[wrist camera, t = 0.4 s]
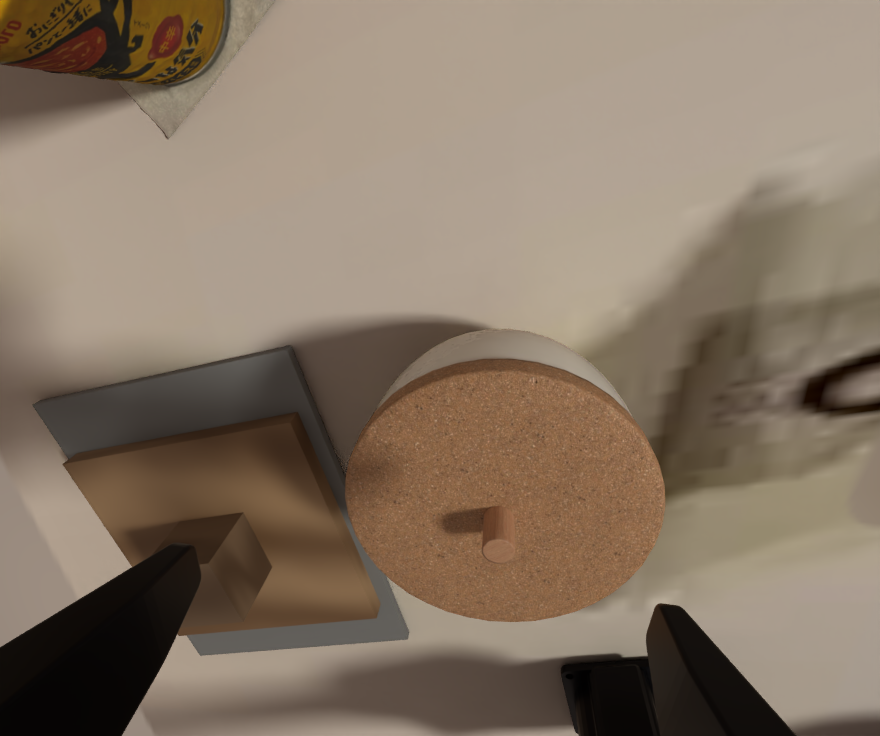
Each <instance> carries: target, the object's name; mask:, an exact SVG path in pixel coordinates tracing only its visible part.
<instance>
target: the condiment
mask: <svg viewBox="0 0 880 736" xmlns="http://www.w3.org/2000/svg"><path fill="white" fill-rule="evenodd" d="M274 1H275V0H0V64H2V65H8V66H16V67H23V68H31V69H39V70H43V71H46V72H51V73H70V74H74V75H80V76H88V77H96V78H99V79H109V80H115V81H117V82H118V83H119V85H120V86H121V87H122V88H123V89H124V90H125V91H126V92H127V93H128V94H129V95H130V96H131V97H132V98H133V99H134V100H135V101H136V102H137V103H138V105H139V106H140V107H141V108H142V109H143V110H144V111H145V112H146V113H147V114H148V115H149V116H150V117H151V118H152V119H153V120H154V121H155V123H156V124H157V125H158V126H159V127H160V128H161V129H162V130H163V132H164V133H165V134H166V136H167V137H168V138H170V137H171V135H172V134H173V133H174V132H175V131H176V129H177V128H178V127H179V125H180V124H181V123H182V121H183V120H184V119H185V118H186V117H187V116H188V114H189V113H190V112H191V110H192V109H193V107H194V106H195V105H196V104H197V103H198V102H199V101H200V99H201V98H202V97H203V96H204V94H205V93H206V92H207V90H208V89H209V88H210V86H211V85H212V84H213V83H214V82H215V80H216V79H217V78H218V76H219V75H220V74H221V73H222V71H223V70H224V68H225V67H226V66H227V64H228V63H229V62H230V60H231V59H232V58H233V57H234V55H235V54H236V52H237V51H238V50H239V49H240V47H241V46H242V45H243V43H244V42H245V41H246V40H247V38H248V37H249V35H250V33H251V32H252V31H253V30H254V28H255V26H256V24H257V23H258V22H259V21H260V19H261V18H262V17H263V16H264V14H265V13H266V12H267V10H268V9H269V8H270V6H271V5H272V4H273V2H274Z"/></svg>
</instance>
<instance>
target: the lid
mask: <svg viewBox="0 0 880 736" xmlns="http://www.w3.org/2000/svg"><path fill="white" fill-rule="evenodd" d="M63 466H64V467H65V468H66V470H67V471H68V473H69V474H70V476H71V477H72V479H73V480H74V482H75V483H76V485H77V486H78V488H79V489H80V491H81V492H82V494H83V495H84V496H85V498H86V499H87V501H88V502H89V504H90V505H91V507H92V508H93V510H94V511H95V513H96V514H97V516H98V517H99V519H100V520H101V521H102V523H103V524H104V526H105V527H106V529H107V530H108V532H109V533H110V535H111V536H112V538H113V539H114V541H115V542H116V544H117V545H118V547H119V548H120V549H121V551H122V552H123V554H124V555H125V557H126V558H127V560H128V561H129V563H130V564H131V566H132V567H133V566H135V565H137V564H138V563H140V562H142V561H143V560H145V559H146V558H148V557H150V556H151V555H153V554H155V553H156V552H158V551H160V550H161V549H163V548H165V547H166V546H168V545H170V544H172V543H184V544H191V545H193V546H194V547H195V548H196V551H197V556H198V560H199V565H200V569H201V582H200V586H199V588H198V590H197V592H196V595H195V597H194V599H193V601H192V603H191V605H190V608H189V610H188V612H187V614H186V616H185V618H184V621H183V623H182V625H181V627H180V629H179V631H178V635H179V636H184V635H195V634H207V633H218V632H229V631H240V630H252V629H263V628H274V627H285V626H297V625H308V624H319V623H331V622H342V621H353V620H364V619H376V618H377V616H378V612H379V608H380V604H381V603H380V601H379V599H378V597H377V594H376V592H375V590H374V587H373V585H372V583H371V580H370V578H369V576H368V573H367V571H366V569H365V566H364V564H363V562H362V559H361V557H360V555H359V552H358V550H357V548H356V546H355V543H354V541H353V539H352V536H351V534H350V532H349V529H348V527H347V525H346V522H345V520H344V518H343V515H342V513H341V511H340V508H339V506H338V504H337V501H336V499H335V497H334V495H333V492H332V490H331V488H330V485H329V483H328V481H327V478H326V476H325V474H324V471H323V469H322V467H321V464H320V462H319V460H318V457H317V455H316V453H315V451H314V448H313V446H312V444H311V441H310V439H309V437H308V434H307V432H306V430H305V427H304V425H303V423H302V420H301V418H300V416H299V413H298V412H294V413H289V414H284V415H278V416H273V417H268V418H262V419H257V420H252V421H246V422H241V423H236V424H230V425H225V426H220V427H214V428H209V429H204V430H199V431H193V432H188V433H183V434H177V435H172V436H167V437H161V438H156V439H151V440H145V441H140V442H135V443H129V444H124V445H119V446H113V447H108V448H103V449H97V450H92V451H87V452H81V453H77V454H75V455H74V456H73V457H72V458H70V459H69V460H68V461H66V462H65V463H64V464H63Z"/></svg>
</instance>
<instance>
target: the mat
mask: <svg viewBox="0 0 880 736" xmlns="http://www.w3.org/2000/svg"><path fill="white" fill-rule="evenodd" d="M33 407H34V408H35V410H36V411H37V413H38V414H39V416H40V417H41V419H42V420H43V422H44V423H45V425H46V426H47V428H48V429H49V431H50V432H51V434H52V435H53V437H54V438H55V440H56V441H57V443H58V444H59V446H60V447H61V449H62V450H63V452H64V453H65V455H66V456H67V457H68V459H70V458H72V457H73V456H74V455H75V454H77V453H81V452H87V451H92V450H97V449H103V448H108V447H113V446H119V445H124V444H129V443H135V442H140V441H145V440H151V439H156V438H161V437H167V436H172V435H177V434H183V433H188V432H193V431H199V430H204V429H209V428H214V427H220V426H225V425H230V424H236V423H241V422H246V421H252V420H257V419H262V418H268V417H273V416H278V415H284V414H289V413H294V412H298V413H299V416H300V418H301V420H302V423H303V425H304V427H305V430H306V432H307V434H308V437H309V439H310V441H311V444H312V446H313V448H314V451H315V453H316V455H317V457H318V460H319V462H320V464H321V467H322V469H323V471H324V474H325V476H326V478H327V481H328V483H329V485H330V488H331V490H332V492H333V495H334V497H335V499H336V501H337V504H338V506H339V508H340V511H341V513H342V515H343V518H344V520H345V522H346V525H347V527H348V529H349V532H350V534H351V536H352V539H353V541H354V543H355V546H356V548H357V550H358V552H359V555H360V557H361V559H362V562H363V564H364V566H365V569H366V571H367V573H368V576H369V578H370V580H371V583H372V585H373V587H374V590H375V592H376V594H377V597H378V599H379V601H380V603H381V604H380V608H379V612H378V616H377V618H376V619H364V620H353V621H342V622H331V623H319V624H308V625H297V626H285V627H274V628H263V629H252V630H240V631H229V632H218V633H207V634H195V635H187V637H188V638H189V640H190V641H191V643H192V644H193V646H194V647H195V649H196V650H197V652H198V653H199V655H200V656H202V655H215V654H228V653H240V652H253V651H266V650H279V649H292V648H304V647H317V646H330V645H343V644H356V643H368V642H381V641H394V640H407V639H408V635H409V631H408V628H407V626H406V623H405V621H404V619H403V616H402V614H401V611H400V609H399V606H398V604H397V602H396V599H395V597H394V594H393V592H392V589H391V587H390V585H389V582H388V580H387V577H386V575H385V574H384V573H383V572H382V571H381V570H380V569H379V568H378V567H377V566H376V565H375V564H374V562H373V561H372V560H371V558H370V557H369V556H368V555H367V553H366V552H365V550H364V549H363V547H362V545H361V543H360V542H359V540H358V538H357V537H356V535H355V532H354V530H353V527H352V524H351V521H350V519H349V516H348V511H347V505H346V499H345V476H344V473H343V471H342V468H341V466H340V464H339V461H338V459H337V456H336V454H335V451H334V449H333V447H332V444H331V442H330V439H329V437H328V434H327V432H326V430H325V427H324V425H323V422H322V420H321V418H320V415H319V413H318V410H317V408H316V405H315V403H314V401H313V398H312V396H311V393H310V391H309V388H308V386H307V384H306V381H305V379H304V376H303V374H302V372H301V369H300V367H299V364H298V362H297V359H296V357H295V355H294V352H293V350H292V347H291V346H286V347H282V348H277V349H273V350H268V351H264V352H259V353H254V354H250V355H245V356H241V357H236V358H232V359H227V360H223V361H218V362H213V363H209V364H204V365H200V366H195V367H191V368H186V369H182V370H177V371H172V372H168V373H163V374H159V375H154V376H150V377H145V378H141V379H136V380H131V381H127V382H122V383H118V384H113V385H109V386H104V387H100V388H95V389H91V390H86V391H81V392H77V393H72V394H68V395H63V396H59V397H54V398H50V399H45V400H40V401H39V402H37V403H35V404H33Z"/></svg>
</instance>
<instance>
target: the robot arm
mask: <svg viewBox="0 0 880 736" xmlns="http://www.w3.org/2000/svg"><path fill="white" fill-rule="evenodd" d="M200 582H201V569H200V565H199V560H198V556H197V551H196V548H195V547H194V546H193V545H191V544H184V543H172V544H170V545H168V546H166V547H165V548H163V549H161V550H160V551H158V552H156V553H155V554H153V555H151V556H150V557H148V558H146V559H145V560H143V561H142V562H140V563H138V564H137V565H135V566H133V567H132V568H130V569H128V570H127V571H125V572H123V573H122V574H120V575H118V576H117V577H115V578H114V579H112V580H110V581H109V582H107V583H105V584H104V585H102V586H100V587H99V588H97V589H95V590H94V591H92V592H90V593H89V594H87V595H86V596H84V597H82V598H81V599H79V600H77V601H76V602H74V603H72V604H71V605H69V606H67V607H66V608H64V609H62V610H61V611H59V612H58V613H56V614H54V615H53V616H51V617H50V618H48V619H46V620H44V621H43V622H42V623H39V624H38V625H36V626H34V627H33V628H31V629H30V630H28V631H26V632H25V633H23V634H21V635H20V636H18V637H16V638H15V639H13V640H11V641H10V642H8V643H6V644H5V645H4V646H2V647H0V736H122V734H123V733H124V731H125V729H126V727H127V725H128V724H129V722H130V720H131V719H132V717H133V715H134V714H135V712H136V710H137V708H138V707H139V705H140V703H141V701H142V700H143V698H144V696H145V695H146V693H147V691H148V689H149V688H150V686H151V684H152V683H153V681H154V679H155V677H156V676H157V674H158V672H159V670H160V668H161V667H162V665H163V663H164V661H165V659H166V657H167V655H168V653H169V651H170V649H171V647H172V644H173V642H174V640H175V638H176V636H177V634H178V631H179V629H180V627H181V625H182V623H183V621H184V618H185V616H186V614H187V612H188V610H189V608H190V605H191V603H192V601H193V599H194V597H195V595H196V592H197V590H198V588H199V586H200ZM646 646H647V653H648V659H649V660H638V661H622V662H606V663H590V664H574V665H564V666H563V667H562V668H561V677H562V681H563V685H564V689H565V693H566V697H567V701H568V705H569V709H570V713H571V717H572V721H573V725H574V729H575V732H576V733H577V734H579V736H796V735H795V733H794V732H793V731H792V730H791V729H790V728H789V727H788V726H787V724H786V723H785V722H784V721H783V720H782V719H781V718H780V717H779V715H778V714H777V713H776V712H775V711H774V710H773V709H772V708H771V707H770V705H769V704H768V703H767V702H766V701H765V700H764V699H763V698H762V696H761V695H760V694H759V693H758V692H757V691H756V690H755V689H754V687H753V686H752V685H751V684H750V683H749V682H748V681H747V680H746V678H745V677H744V676H743V675H742V674H741V673H740V672H739V671H738V669H737V668H736V667H735V666H734V665H733V664H732V663H731V662H730V661H729V659H728V658H727V657H726V656H725V655H724V654H723V653H722V652H721V650H720V649H719V648H718V647H717V646H716V645H715V644H714V643H713V641H712V640H711V639H710V638H709V637H708V636H707V635H706V634H705V632H704V631H703V630H702V629H701V628H700V627H699V626H698V625H697V624H696V622H695V621H694V620H693V619H692V618H691V617H690V616H689V615H688V613H687V612H686V611H685V610H684V609H683V608H681V607H680V606H677V605H669V604H657V605H656V607H655V609H654V612H653V615H652V618H651V621H650V624H649V627H648V630H647V635H646Z"/></svg>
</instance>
